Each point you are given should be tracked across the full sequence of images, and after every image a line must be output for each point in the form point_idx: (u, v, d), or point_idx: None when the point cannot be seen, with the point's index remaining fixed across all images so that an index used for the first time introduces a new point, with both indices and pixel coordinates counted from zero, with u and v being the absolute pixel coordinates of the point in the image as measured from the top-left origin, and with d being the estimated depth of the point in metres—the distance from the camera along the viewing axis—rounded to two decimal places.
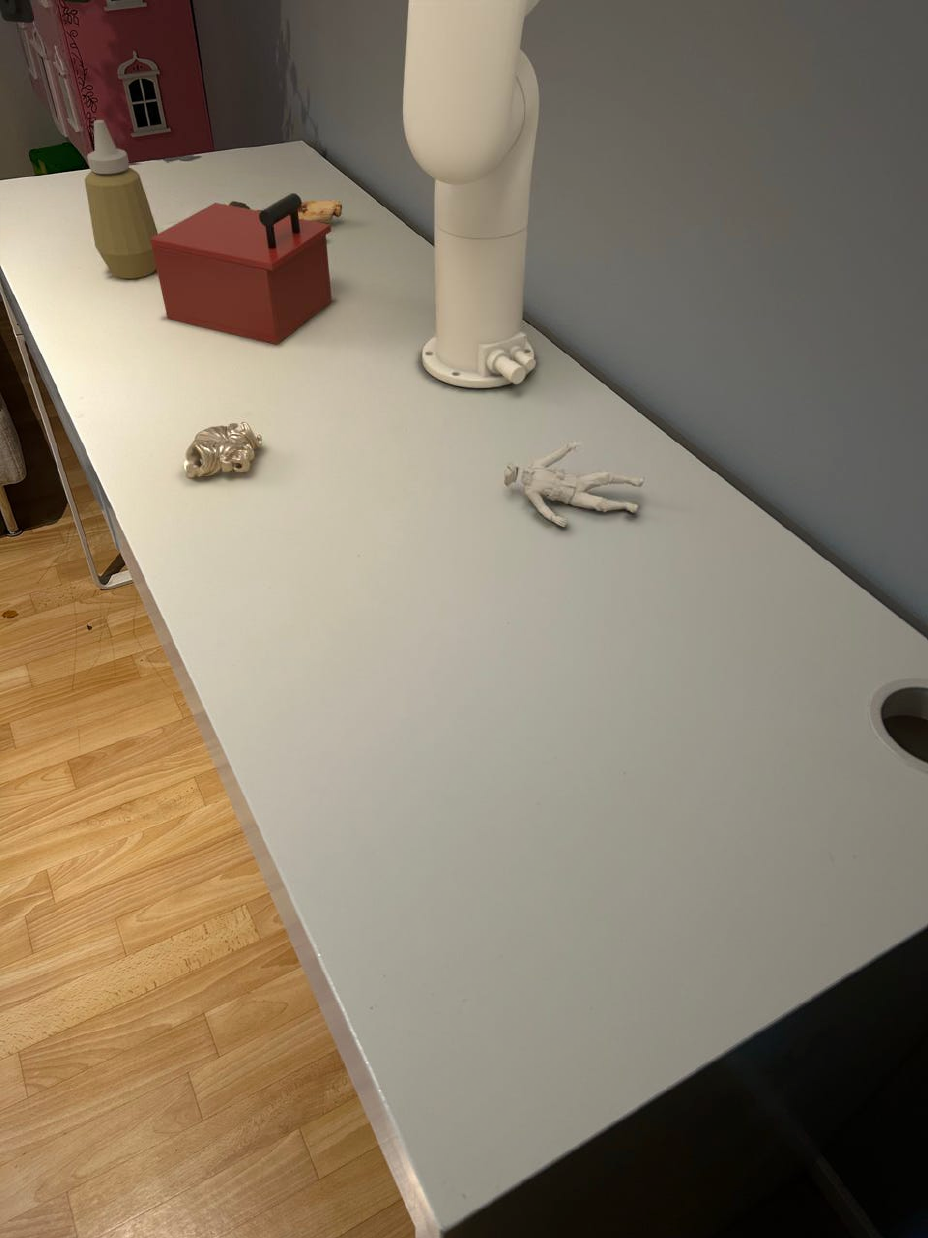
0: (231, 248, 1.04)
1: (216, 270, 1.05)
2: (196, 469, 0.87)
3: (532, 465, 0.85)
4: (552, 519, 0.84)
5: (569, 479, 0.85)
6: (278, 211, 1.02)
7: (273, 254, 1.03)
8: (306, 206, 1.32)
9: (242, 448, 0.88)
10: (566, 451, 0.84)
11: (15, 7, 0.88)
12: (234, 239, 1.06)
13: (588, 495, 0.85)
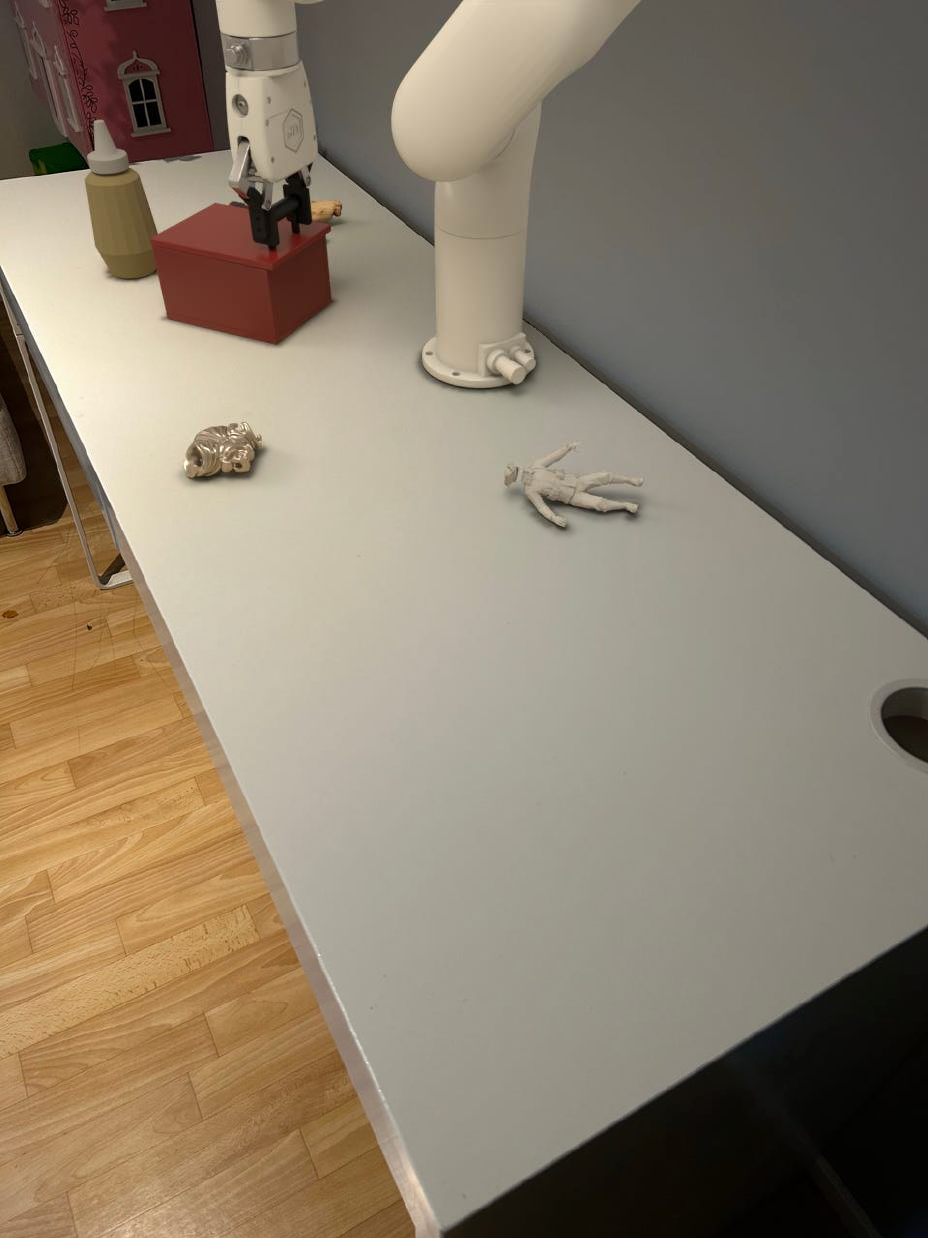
0: (231, 248, 1.04)
1: (216, 270, 1.05)
2: (196, 469, 0.87)
3: (532, 465, 0.85)
4: (552, 519, 0.84)
5: (569, 479, 0.85)
6: (278, 211, 1.02)
7: (273, 254, 1.03)
8: None
9: (242, 448, 0.88)
10: (566, 451, 0.84)
11: (265, 235, 1.02)
12: (234, 239, 1.06)
13: (588, 495, 0.85)
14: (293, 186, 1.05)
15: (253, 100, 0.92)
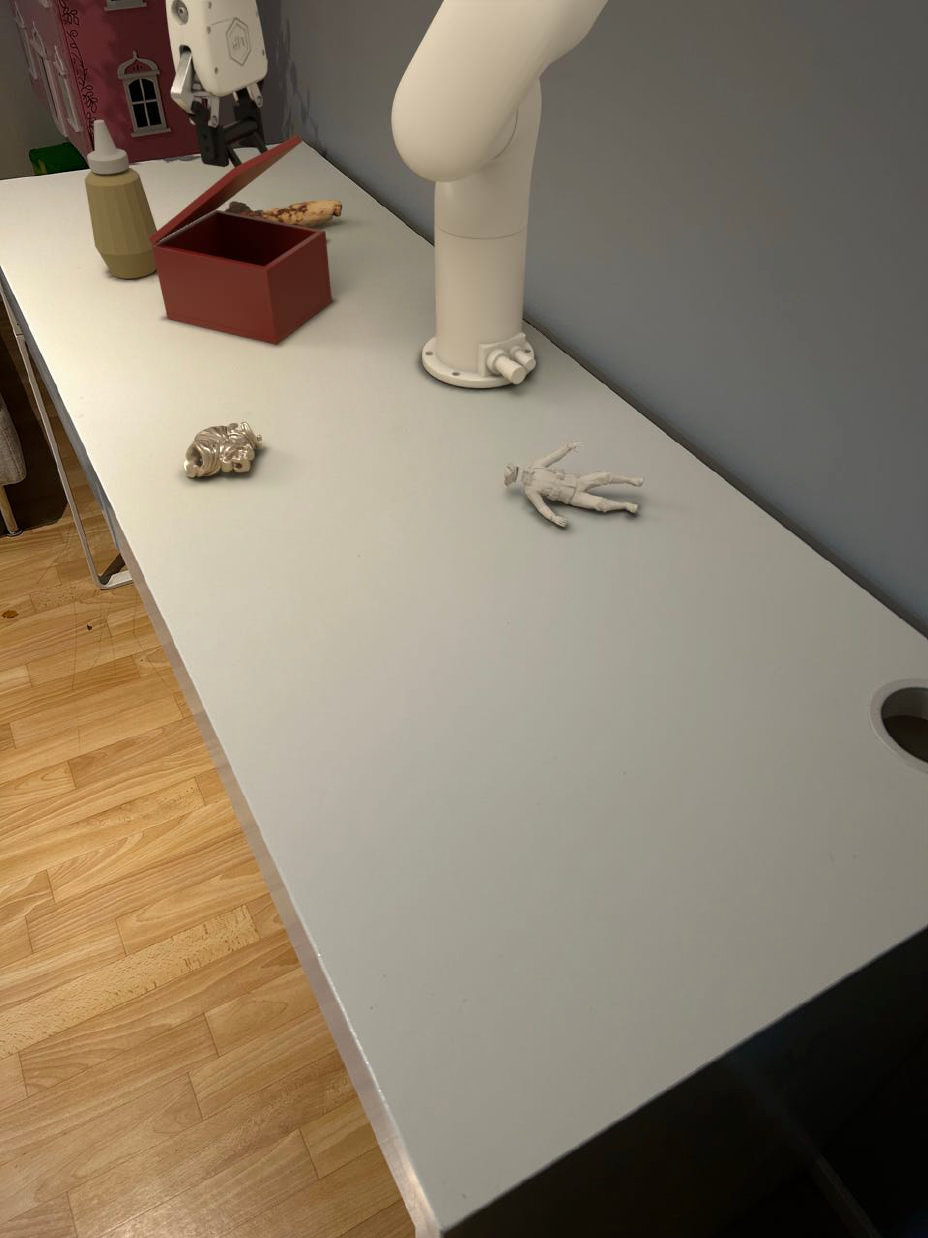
0: None
1: (216, 270, 1.05)
2: (196, 469, 0.87)
3: (532, 465, 0.85)
4: (552, 519, 0.84)
5: (569, 479, 0.85)
6: (228, 128, 0.99)
7: None
8: (306, 206, 1.32)
9: (242, 448, 0.88)
10: (566, 451, 0.84)
11: (214, 154, 0.98)
12: None
13: (588, 495, 0.85)
14: (243, 107, 1.02)
15: (193, 5, 0.89)
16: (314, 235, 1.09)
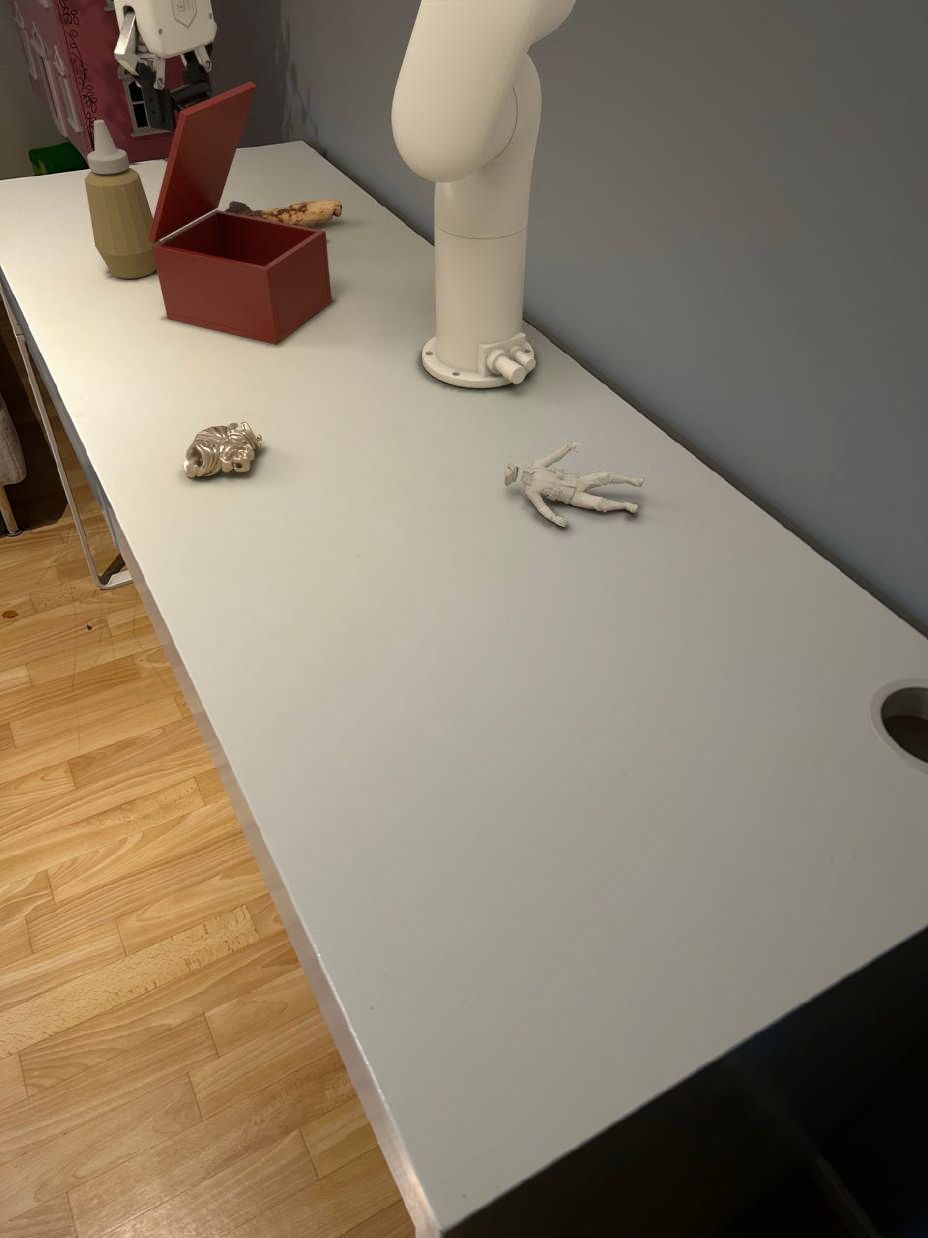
0: None
1: (216, 270, 1.05)
2: (196, 469, 0.87)
3: (532, 465, 0.85)
4: (552, 519, 0.84)
5: (569, 479, 0.85)
6: (175, 89, 0.98)
7: None
8: (306, 206, 1.32)
9: (242, 448, 0.88)
10: (566, 451, 0.84)
11: (160, 118, 0.98)
12: None
13: (588, 495, 0.85)
14: (192, 71, 1.02)
15: None
16: (314, 235, 1.09)
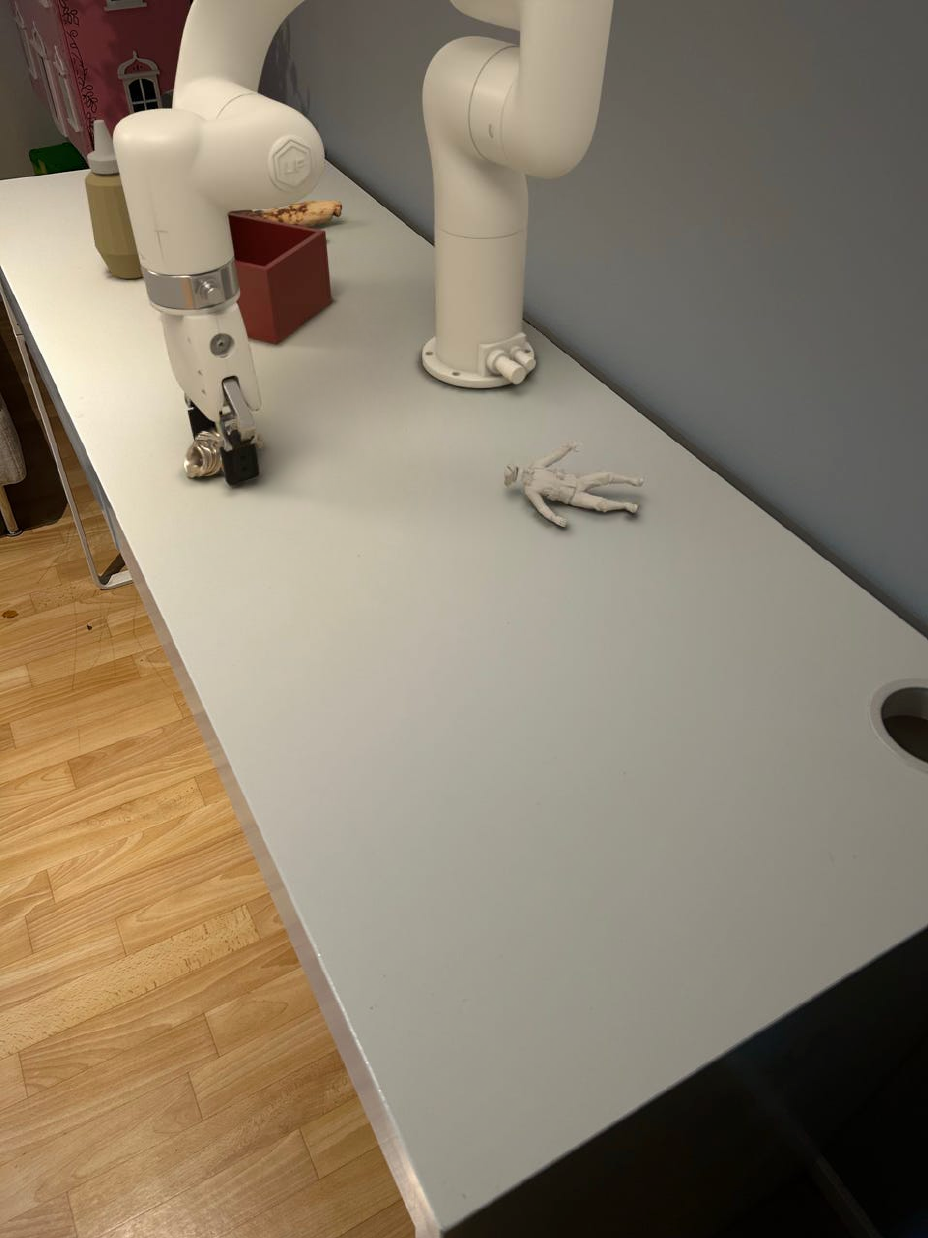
0: None
1: None
2: (196, 469, 0.87)
3: (532, 465, 0.85)
4: (552, 519, 0.84)
5: (569, 479, 0.85)
6: None
7: None
8: (306, 206, 1.32)
9: None
10: (566, 451, 0.84)
11: (252, 470, 0.86)
12: None
13: (588, 495, 0.85)
14: None
15: (239, 332, 0.78)
16: (314, 235, 1.09)
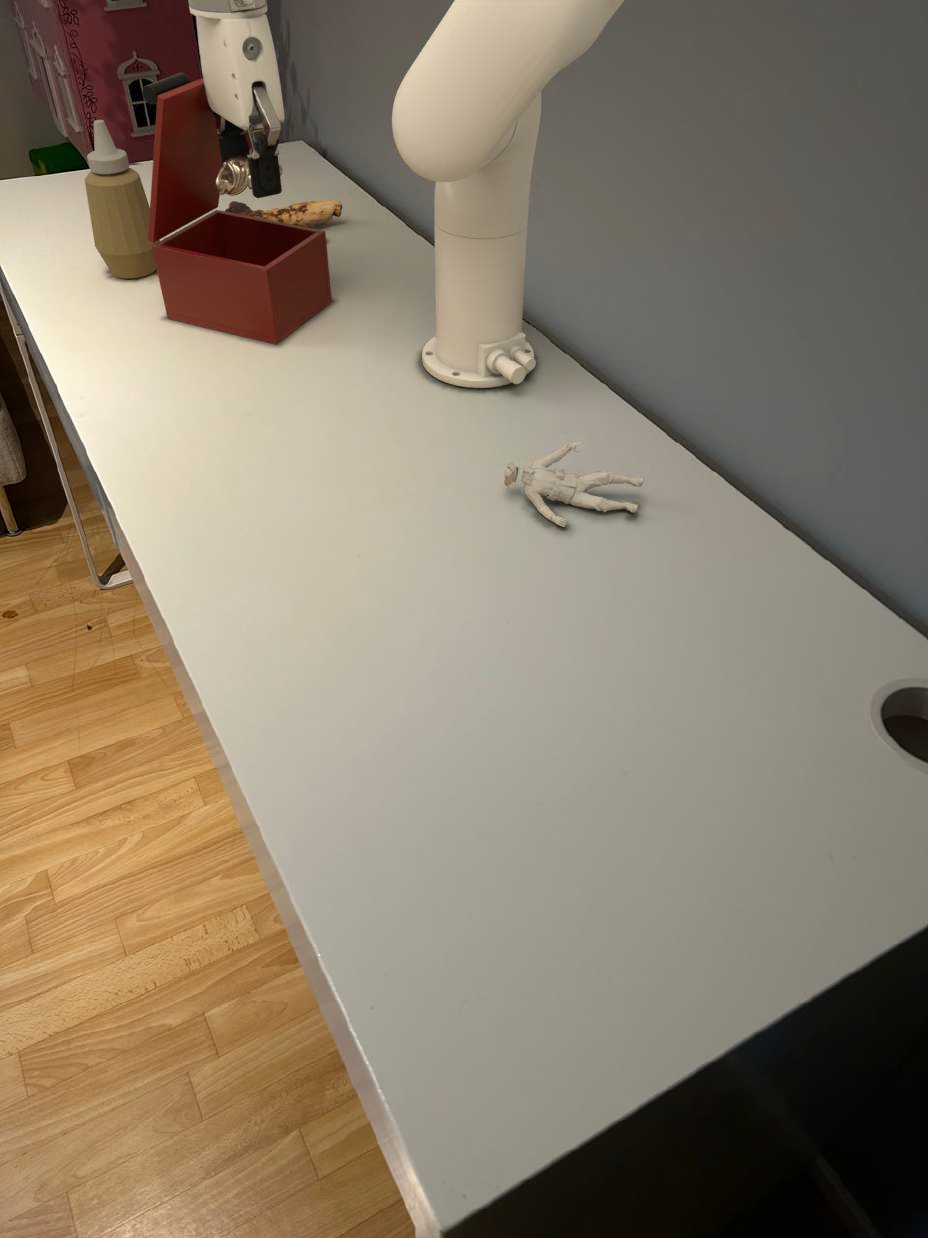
0: None
1: (216, 270, 1.05)
2: (226, 184, 1.00)
3: (532, 465, 0.85)
4: (552, 519, 0.84)
5: (569, 479, 0.85)
6: (155, 82, 0.99)
7: None
8: (306, 206, 1.32)
9: None
10: (566, 451, 0.84)
11: (275, 183, 1.00)
12: None
13: (588, 495, 0.85)
14: (232, 137, 1.03)
15: (267, 39, 0.91)
16: (314, 235, 1.09)
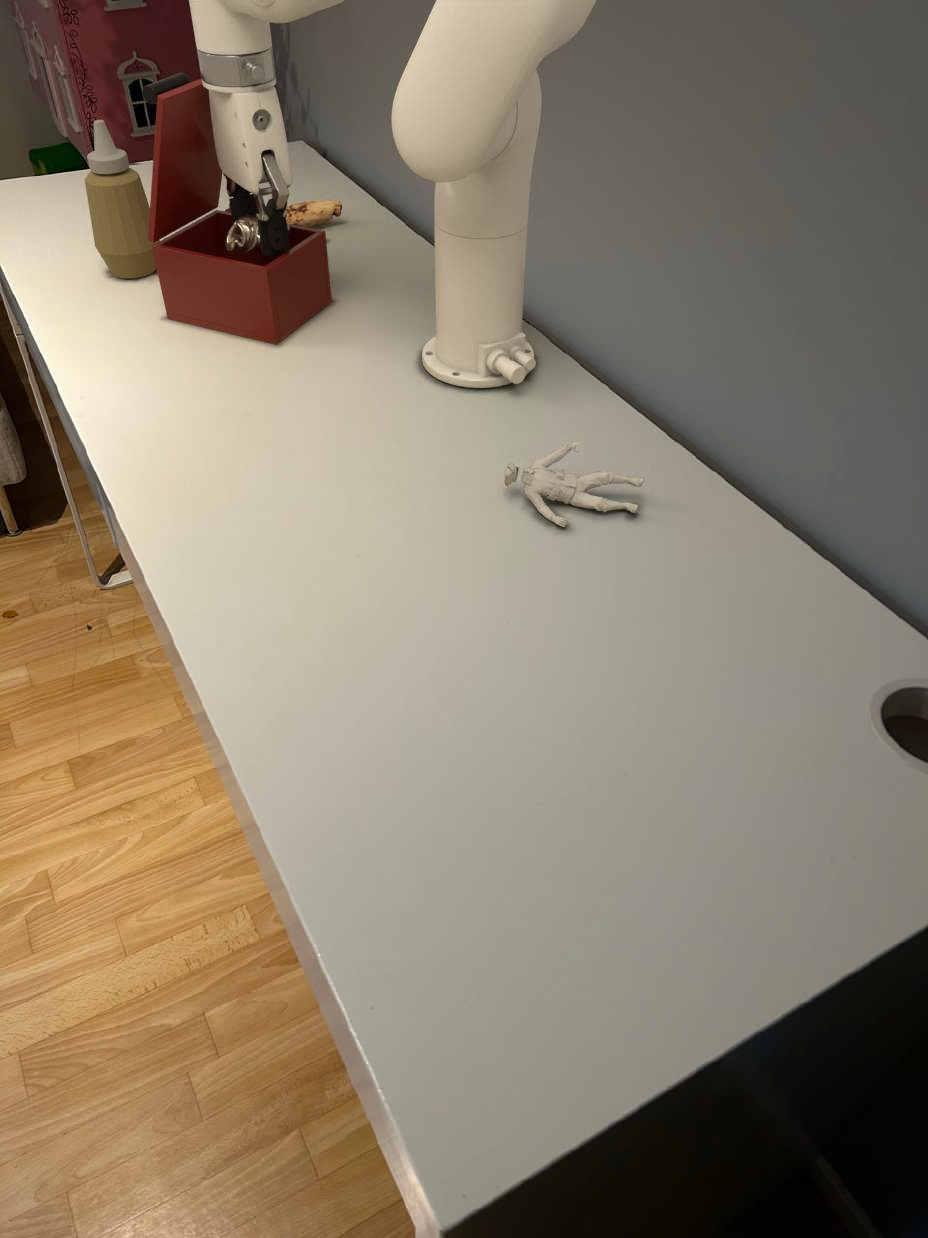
0: None
1: (216, 270, 1.05)
2: (237, 243, 1.05)
3: (532, 465, 0.85)
4: (552, 519, 0.84)
5: (569, 479, 0.85)
6: (155, 82, 0.99)
7: None
8: (306, 206, 1.32)
9: None
10: (566, 451, 0.84)
11: (283, 243, 1.04)
12: None
13: (588, 495, 0.85)
14: (242, 197, 1.07)
15: (276, 111, 0.96)
16: (314, 235, 1.09)
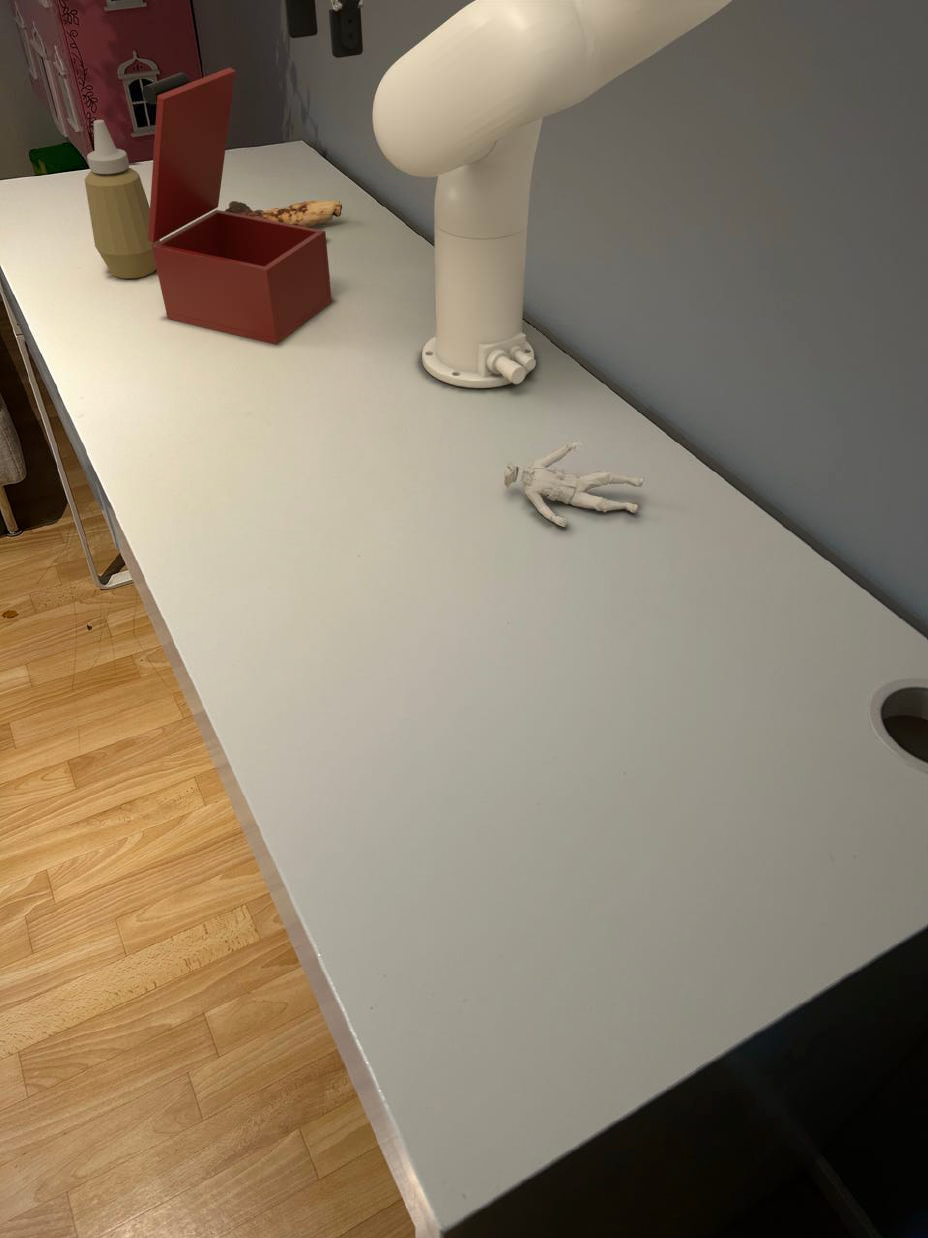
0: None
1: (216, 270, 1.05)
2: None
3: (532, 465, 0.85)
4: (552, 519, 0.84)
5: (569, 479, 0.85)
6: (155, 82, 0.99)
7: None
8: (306, 206, 1.32)
9: None
10: (566, 451, 0.84)
11: (357, 41, 0.92)
12: None
13: (588, 495, 0.85)
14: None
15: None
16: (314, 235, 1.09)
